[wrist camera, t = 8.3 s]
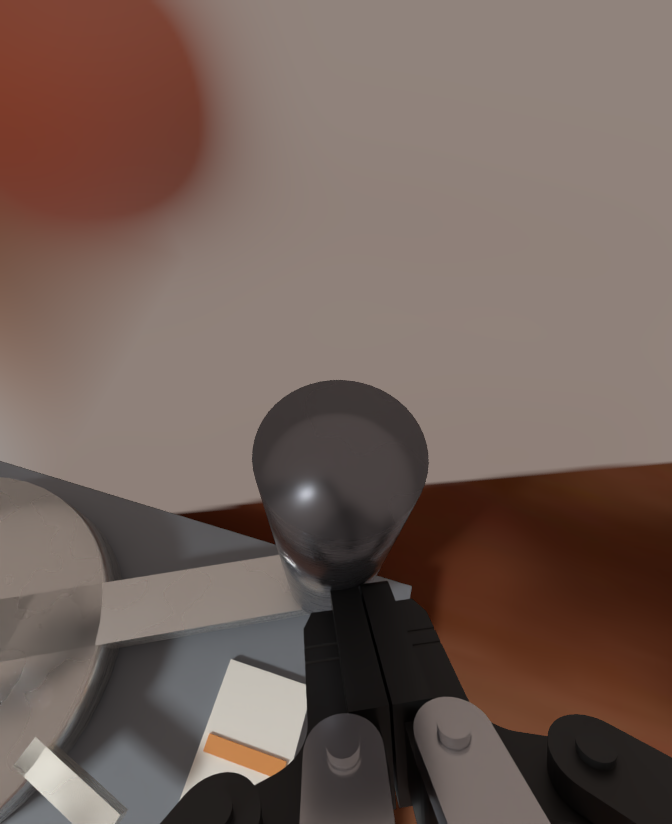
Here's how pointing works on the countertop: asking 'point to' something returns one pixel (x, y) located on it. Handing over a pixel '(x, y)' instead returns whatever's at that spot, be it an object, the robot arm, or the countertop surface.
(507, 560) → the countertop surface
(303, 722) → the slate stand
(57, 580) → the crank dial
